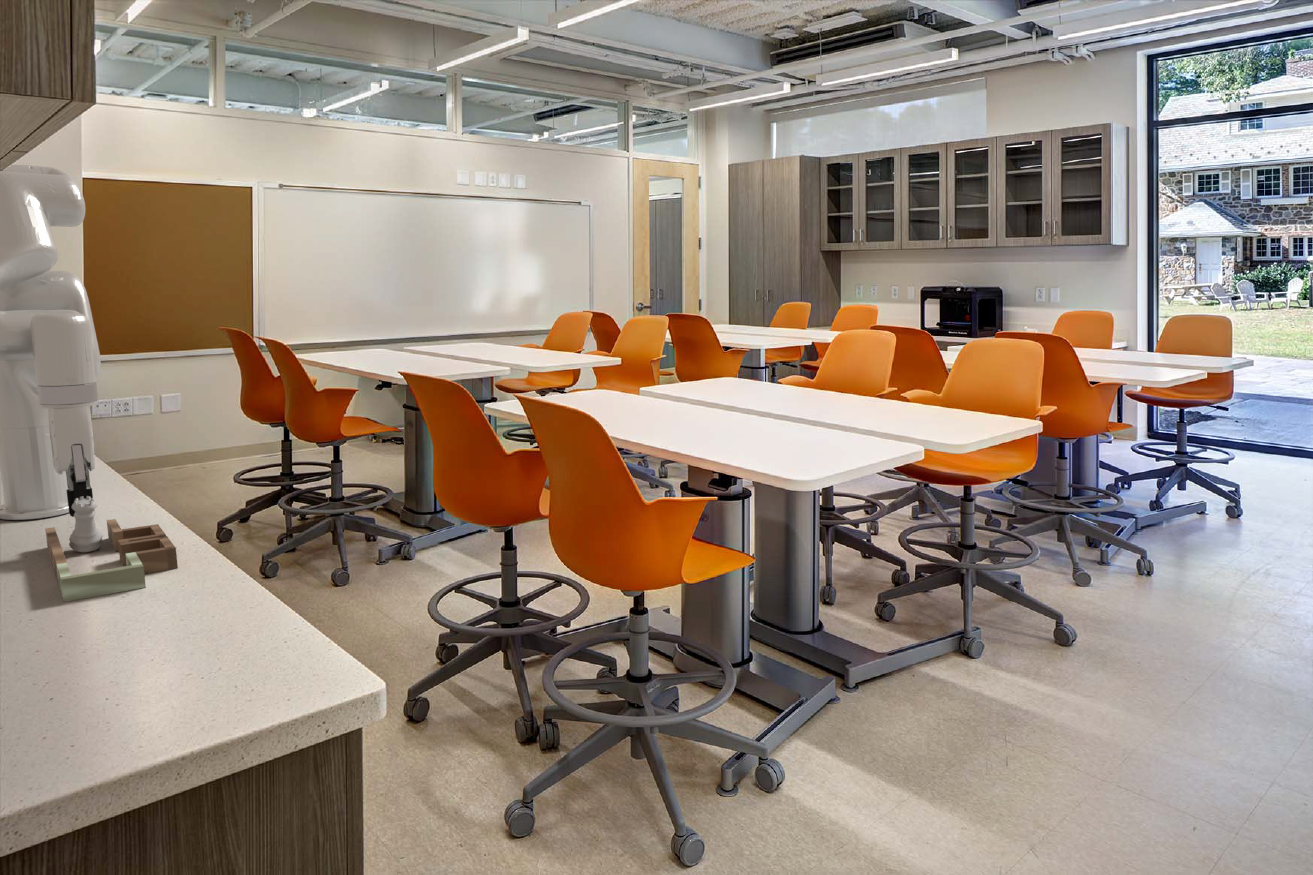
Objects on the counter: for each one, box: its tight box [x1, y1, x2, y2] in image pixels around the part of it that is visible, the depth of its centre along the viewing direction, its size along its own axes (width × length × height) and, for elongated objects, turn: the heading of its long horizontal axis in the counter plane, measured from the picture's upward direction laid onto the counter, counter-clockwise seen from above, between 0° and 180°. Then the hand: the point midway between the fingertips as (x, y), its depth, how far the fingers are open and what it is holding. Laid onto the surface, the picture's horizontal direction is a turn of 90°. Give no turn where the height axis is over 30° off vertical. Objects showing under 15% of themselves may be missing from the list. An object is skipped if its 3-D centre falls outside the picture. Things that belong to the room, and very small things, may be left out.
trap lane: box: [44, 518, 179, 602], centre depth 135 cm, size 29×14×3 cm, turn 37°
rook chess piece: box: [68, 496, 104, 553], centre depth 140 cm, size 4×4×8 cm
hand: (82, 514), depth 142 cm, fingers closed
